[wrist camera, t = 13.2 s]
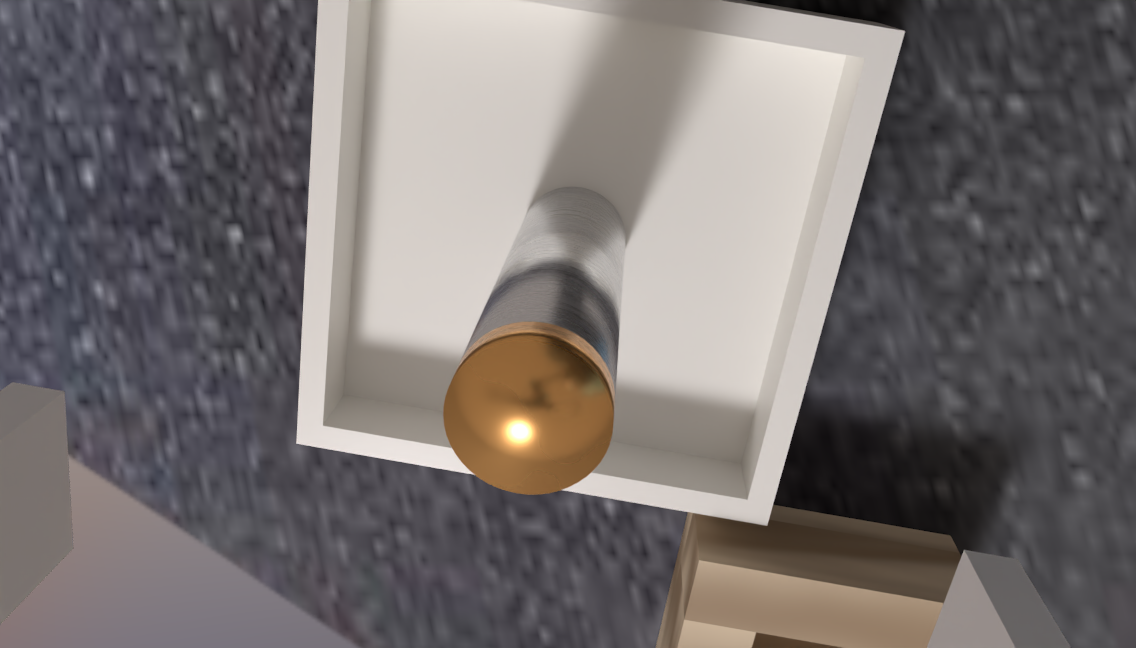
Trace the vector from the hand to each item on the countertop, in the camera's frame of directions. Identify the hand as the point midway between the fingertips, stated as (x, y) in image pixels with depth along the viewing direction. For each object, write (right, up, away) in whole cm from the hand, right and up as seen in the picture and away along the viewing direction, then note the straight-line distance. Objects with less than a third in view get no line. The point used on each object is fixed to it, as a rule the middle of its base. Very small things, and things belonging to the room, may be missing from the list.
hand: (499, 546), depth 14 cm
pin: (+1, +6, +15) cm, 16 cm away
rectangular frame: (+1, +6, +16) cm, 17 cm away
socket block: (+9, -7, +20) cm, 24 cm away
